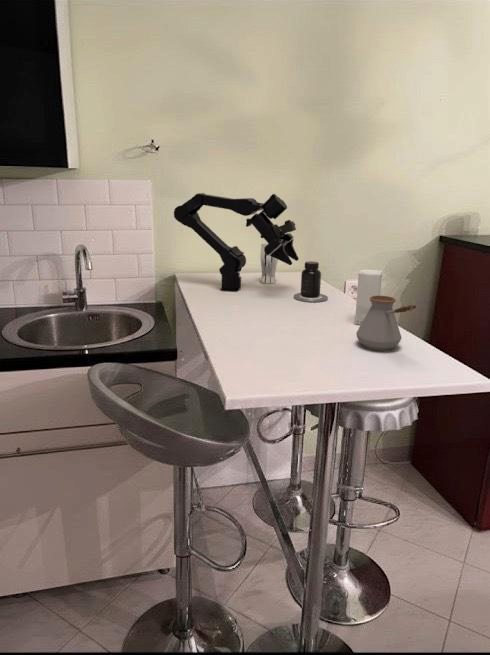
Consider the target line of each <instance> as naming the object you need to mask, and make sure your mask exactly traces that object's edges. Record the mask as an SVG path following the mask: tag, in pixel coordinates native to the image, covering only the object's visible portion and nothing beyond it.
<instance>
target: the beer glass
mask: <svg viewBox="0 0 490 655" xmlns="http://www.w3.org/2000/svg"><path fill="white" fill-rule="evenodd" d="M267 245H268V243H262V244H261V245H260V255H259V256H260V257H259V258H260V259H259V260H260V267H261V277H260V278H261V279H260V283H261V284H263V285H264V284H265V285H275V284H276V283H277V281H276V280H277V279H276V270H277V265H278V261H279V260H278V259H276V258H274V257H272V256H270V255H271V254H272V252H271V254H270V255H267V254H266V253H265V252H264V248H265V247H266V246H267Z"/></svg>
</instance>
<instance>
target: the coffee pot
mask: <svg viewBox="0 0 490 655" xmlns="http://www.w3.org/2000/svg"><path fill="white" fill-rule="evenodd" d="M370 301H371V304H372V306H371V308H370V309H369V311H368V313H367V315H366V317H365V318H364V320H363V322H362V324H361V325H359V327H358V329H357V331H356V333H355V334H356V338H357V340H358V342H360V343H361V345H362V346H363V347H365V348H366V349H370V350H373V351H379V352H380V351H381V352H382V351H383V352H385V351H390V350H392V349H393V348H395V347H396V346H398V345H399V343H400V342H401V340H402V335H401V332H400V329H399V325H398V322H397V319H396V316H395V314H398V313H405V312H408V311H410V314H412V315H414V313H413V312H412V311H413V310H414V309H416V308H417V309H418V311H417V313H416V315H418V314H419V313H420V308H419V307H418V306H416V305H414V304H413V305H410V304H409V305H407V306H402V307H398V308H396V309H393V305H394V303H396V298H394V297H392V296H388V295H380V296H371V297H370Z"/></svg>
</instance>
